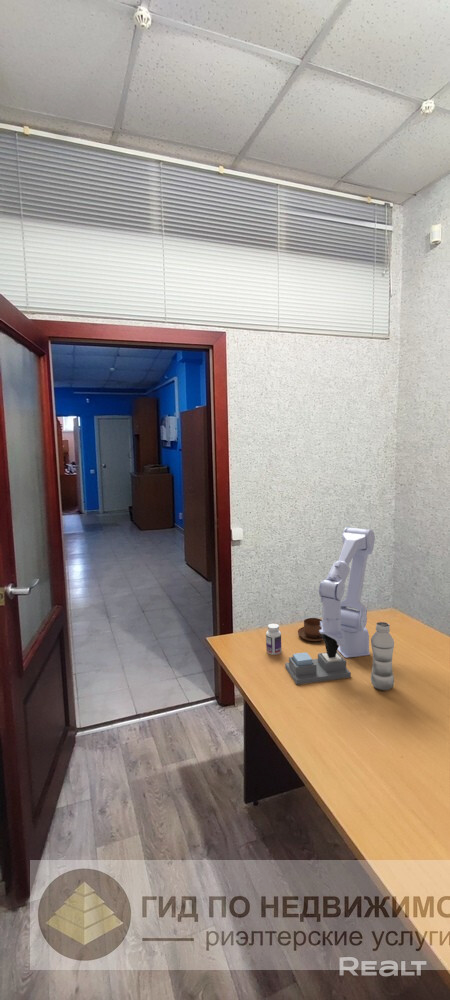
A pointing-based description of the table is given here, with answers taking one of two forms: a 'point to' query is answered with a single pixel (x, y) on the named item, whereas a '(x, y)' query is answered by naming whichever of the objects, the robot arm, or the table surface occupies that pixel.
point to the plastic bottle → (382, 657)
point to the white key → (331, 658)
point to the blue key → (302, 659)
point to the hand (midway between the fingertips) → (331, 656)
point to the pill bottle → (273, 639)
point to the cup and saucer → (311, 630)
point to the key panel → (318, 670)
